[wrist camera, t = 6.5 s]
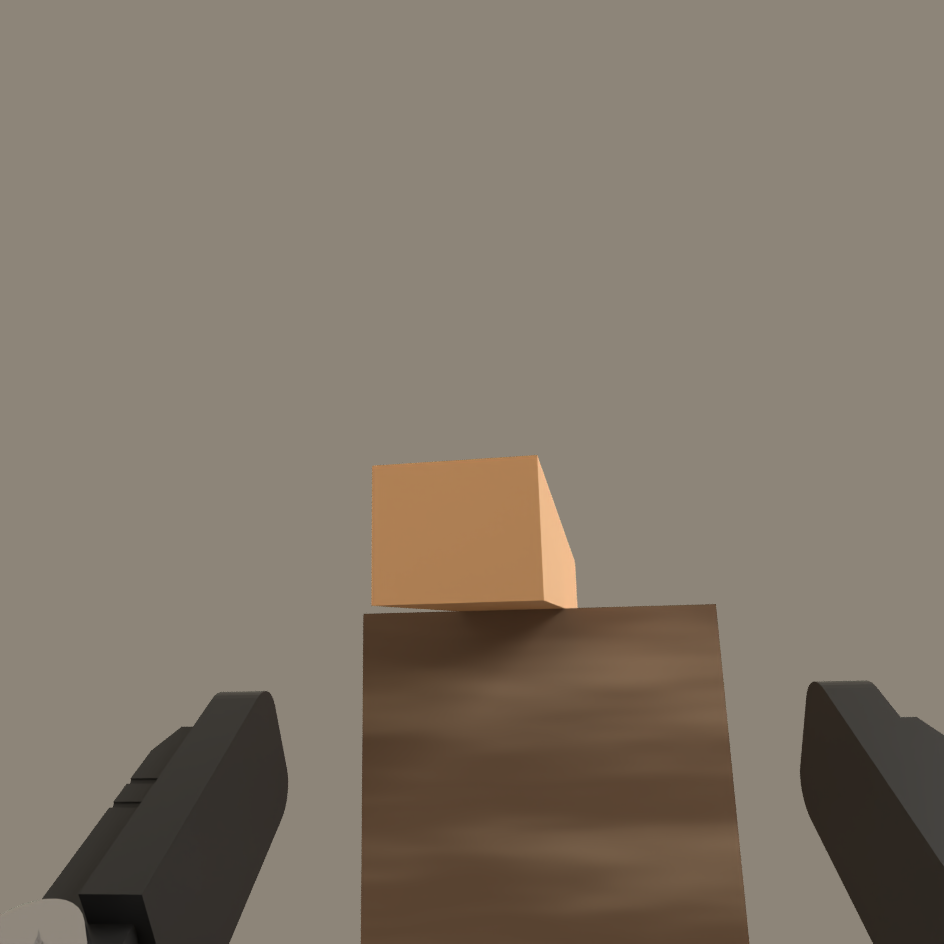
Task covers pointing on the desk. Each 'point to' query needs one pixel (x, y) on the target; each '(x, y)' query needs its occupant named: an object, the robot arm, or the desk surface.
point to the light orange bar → (469, 537)
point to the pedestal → (548, 779)
